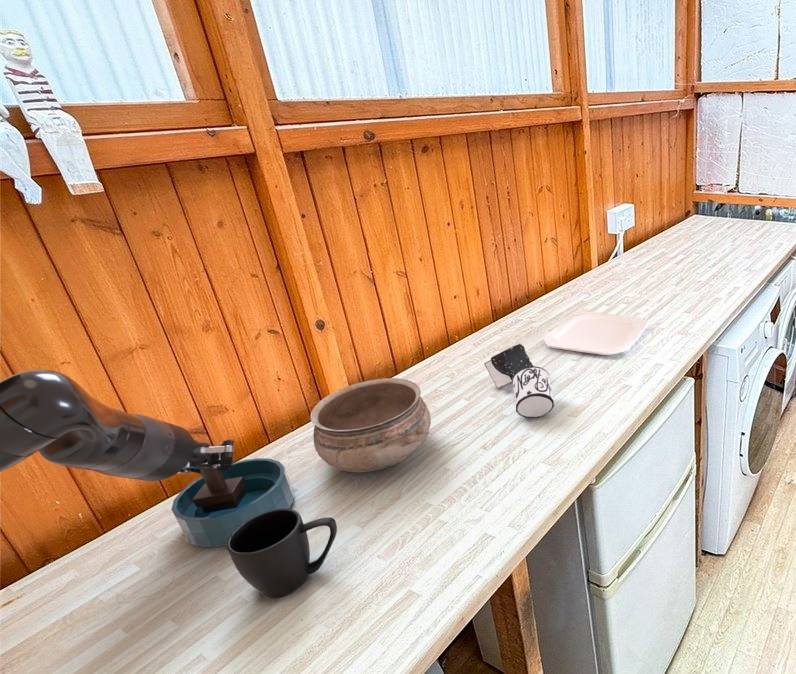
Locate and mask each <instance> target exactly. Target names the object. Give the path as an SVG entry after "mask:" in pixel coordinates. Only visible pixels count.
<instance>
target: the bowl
mask: <svg viewBox="0 0 796 674" xmlns="http://www.w3.org/2000/svg"><path fill="white" fill-rule="evenodd" d="M221 472H222V474H223V476H224V479H231V478H237V477H243V478H244V481H245V483H246V485H245V487H244V488H243V489H244V491H245V496H244V497H243V499H242V501H241V502H240V504H239V505H238V507H237V508H232V509H226V510H220V511H214V512H209V513H204V511H203V509H202V507H196V506H195V503H194V501H193V498H194V497H195V496H196V494H197V493H198V492H199V490H200V489H201V488H202V486H203V485H204V484H205V481H204V478H203V476H202V475H201V476H200V477H198V478H197V479H195V480H192V482H190V483H189V484H188V485H187V486H185V487H184V488H183V489H182V490H180V492H179V493H178V494H177V496H176V497H175V498H174V499H173V501H172V505H171V512H172V514H173V516H174V518H175V520H176V522H177V524H178V525H179V528H180V529H181V531H182V533H183V535H184V537H185V539H186V540H187V542H188V543H189V544H192V545H194V546H196V547H198V548H199V547H201V548H203V547H204V548H215V547H220V546H226V543H227V540H228V538H229V536H230V535H231V533H232V532H233V531H234V530H235V529H236V528H237V527H238V526H240V525H241V524H242V523H244V522H245V521H247V520H248V519H250V518H252V517H254V516H256V515H258V514H261V513H264V512H266V511H270V510H274V509H281V508H288V509H291V506H292V504H293V502H294V500H295V493H294V492H295V491H294V488H293V486H292V484H291V483H292V482H291V480H290V478H289V475H288V473H287V470H286V467H285V466H284V465H283V463H281V462H280V461H279V460H276V459H272V458H264V457H262V458H261V457H259V458H258V457H256V458H250V459H242V460H239V461H235V462H233V467H231V469H230V470H226V471H223V470H221Z"/></svg>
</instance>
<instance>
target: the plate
mask: <svg viewBox="0 0 796 674" xmlns="http://www.w3.org/2000/svg"><path fill="white" fill-rule="evenodd" d="M648 327H649V323H648V322H647V321H645V320H644V319H643V318H641V317H640V316H633V315H632V316H631V315H622V314H615V313H605V312H597V311H588V310H587V311H581V312H576V313H571V314H569V316H567V317H566V318H564V320H562V321H561V322H560V323H559V324H558V325H556V326H555V327H554V328H552V329H551V330H550V331H549V332H547V334H545V335H544V336H543V337H542V340H543V342H544V343H545V345H546V346H547V347H549V348H553V349H558V350H565V351H571V352H577V353H586V354H592V355H600V356H612V355H617V354H622V353H626V352H628V351H630V349H631V348H632V347H633V346H634V345H635V343H636V342H637V341H638V339H639V338H640V337H641V336H642V335H643V333H644V332H645V331H646V329H648Z"/></svg>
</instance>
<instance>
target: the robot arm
mask: <svg viewBox="0 0 796 674" xmlns="http://www.w3.org/2000/svg"><path fill="white" fill-rule="evenodd" d="M234 445H235V440H234V439H233V440H232V439H226V440H223V441H222V442H219V443H218V446H217V445H216V446H212V445H211V444H209V443H208V442H202V441H198V440H196V439H194V437H193V436H192V433H190V432H189V431H188V430H187V429H185V428H184V427H182V426H180V425H177V424H173V423H171V422H167V421H163V420H161V419H157V418H154V417H152V416H151V417H150V416H148V415H143V414H139V413H138V414H137V413H130V412H126V411H123V410H121V409H116V408H113V407H110V406H108V405H106V404H104V403H103V402H101V401H99V400H98V399H96V398H95V397H94V396H92V395H91V394H90V393H88V391H87V390H85V388H84V387H82V386H81V384H79V383H78V382H77V381H76V380H74V379H73V378H71V377H70V376H68V375H67V374H65V373H62V372H60V371H56V370H52V369H30V370H29V369H28V370H24V371H21V372H18V373H15V374H12V375H10V376H8V377H6V378H4V379H3V380H1V381H0V472H4V471H6V470H8V469H11V468H12V467H14V466H17V465H18V464H20V463H21V462H23V461H24V460H26V459H28V458H29V457H31V456H33V455H34V454H36V453H37V452H38V453H39V455H40V456H41V457H42V458H43V459H44V460H46V461H48V462H50V463H51V464H54V465H58V466H61V467H66V468H73V469H78V470H86V471H91V472H95V473H98V474H102V475H105V476H110V477H117V478H124V479H130V480H136V481H137V480H138V481H143V482H144V481H145V482H159V481H164V480H166V479H169V478H171V477H173V476H175V475H177V474H188V473H195V474H200V475H202V474H201V472H200V470H202V469H208V468H213V469H218V470H223V471H226V470H230V469H231V467H233V463H234Z"/></svg>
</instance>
